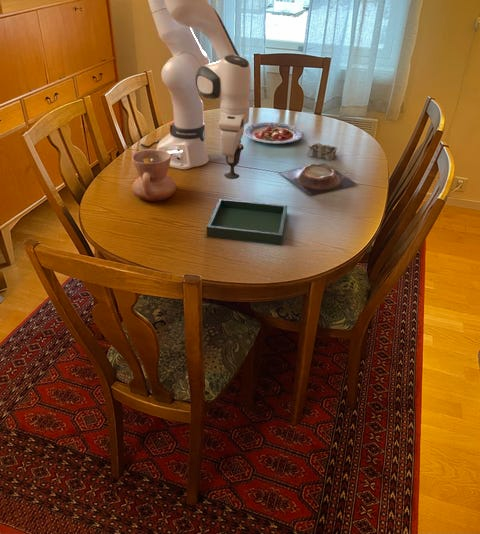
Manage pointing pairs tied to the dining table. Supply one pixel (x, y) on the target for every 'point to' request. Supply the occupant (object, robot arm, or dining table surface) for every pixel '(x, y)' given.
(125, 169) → the dining table surface
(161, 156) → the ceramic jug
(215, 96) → the robot arm
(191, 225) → the dining table surface
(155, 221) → the dining table surface
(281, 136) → the ceramic plate
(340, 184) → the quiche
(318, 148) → the egg carton
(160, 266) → the dining table surface
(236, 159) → the sundae
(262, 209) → the serving tray
